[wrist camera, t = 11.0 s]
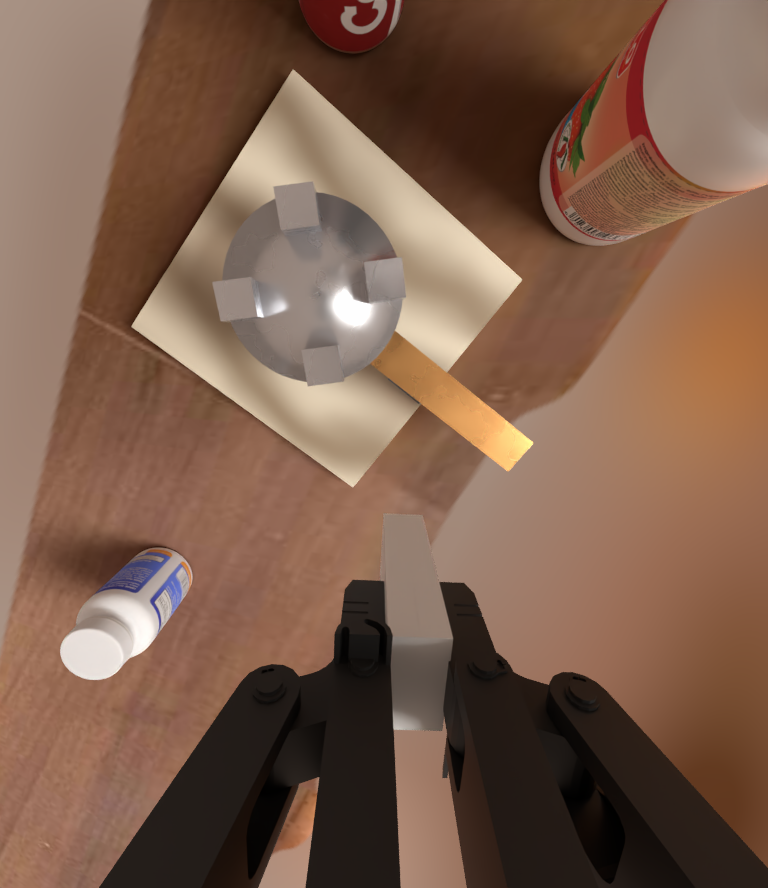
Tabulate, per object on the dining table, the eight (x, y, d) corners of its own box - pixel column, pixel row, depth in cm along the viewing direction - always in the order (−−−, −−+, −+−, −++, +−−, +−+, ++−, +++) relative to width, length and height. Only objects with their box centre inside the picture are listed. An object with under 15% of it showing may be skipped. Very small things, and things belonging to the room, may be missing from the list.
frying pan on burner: (208, 312, 26) (177, 307, 22) (300, 171, 24) (285, 136, 20) (461, 501, 29) (476, 526, 25) (557, 390, 28) (589, 398, 24)
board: (297, 83, 27) (281, 28, 23) (515, 282, 31) (541, 271, 26) (142, 327, 31) (99, 324, 26) (353, 481, 34) (350, 504, 29)
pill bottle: (119, 575, 36) (29, 659, 26) (155, 533, 35) (75, 604, 26) (171, 611, 37) (102, 704, 27) (207, 570, 36) (148, 652, 27)
